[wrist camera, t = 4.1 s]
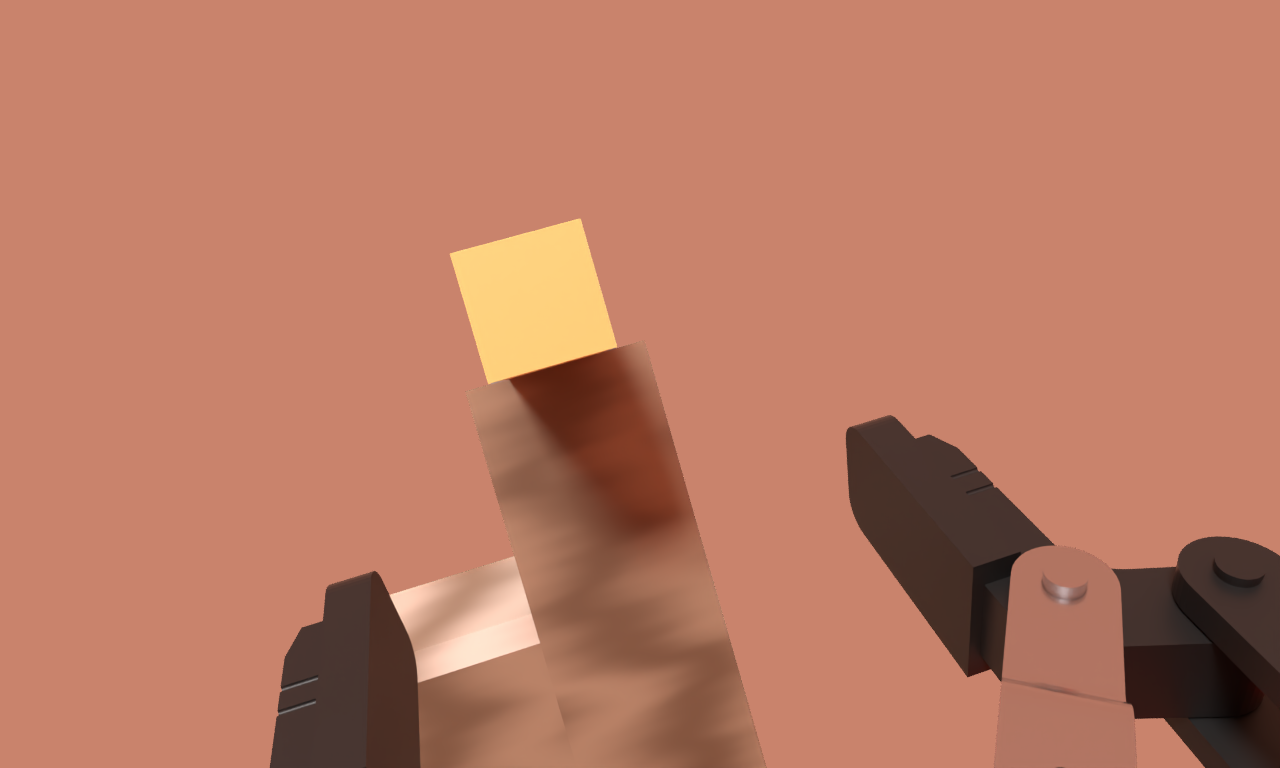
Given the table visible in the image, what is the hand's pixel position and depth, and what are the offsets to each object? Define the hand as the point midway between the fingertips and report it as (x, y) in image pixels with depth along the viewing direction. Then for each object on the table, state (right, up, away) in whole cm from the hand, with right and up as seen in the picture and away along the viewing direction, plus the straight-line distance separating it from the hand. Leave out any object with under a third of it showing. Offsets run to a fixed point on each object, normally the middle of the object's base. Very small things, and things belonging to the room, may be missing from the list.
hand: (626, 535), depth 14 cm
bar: (-3, +3, +14) cm, 15 cm away
